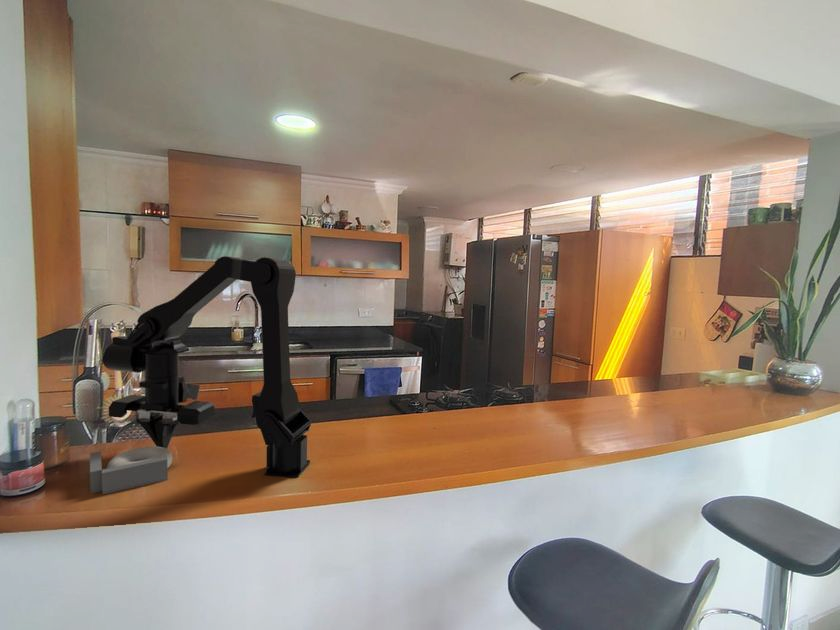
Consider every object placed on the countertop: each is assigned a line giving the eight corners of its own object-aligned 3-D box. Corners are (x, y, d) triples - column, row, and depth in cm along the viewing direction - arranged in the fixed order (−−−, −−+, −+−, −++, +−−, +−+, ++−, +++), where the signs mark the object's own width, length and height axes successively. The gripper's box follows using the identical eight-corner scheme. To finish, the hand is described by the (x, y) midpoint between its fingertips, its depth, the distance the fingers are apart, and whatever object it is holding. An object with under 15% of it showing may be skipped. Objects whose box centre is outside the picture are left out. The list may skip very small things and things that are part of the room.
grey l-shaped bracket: (172, 478, 72) (171, 456, 72) (138, 500, 65) (138, 476, 64) (96, 471, 73) (95, 450, 73) (55, 492, 66) (54, 469, 66)
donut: (182, 451, 75) (120, 472, 67) (183, 469, 75) (121, 492, 67) (156, 438, 80) (95, 456, 72) (157, 455, 81) (96, 475, 72)
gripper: (230, 368, 86) (230, 438, 87) (150, 361, 88) (151, 430, 90) (195, 382, 75) (196, 462, 76) (105, 374, 77) (107, 452, 79)
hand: (163, 450), depth 81 cm, fingers closed
